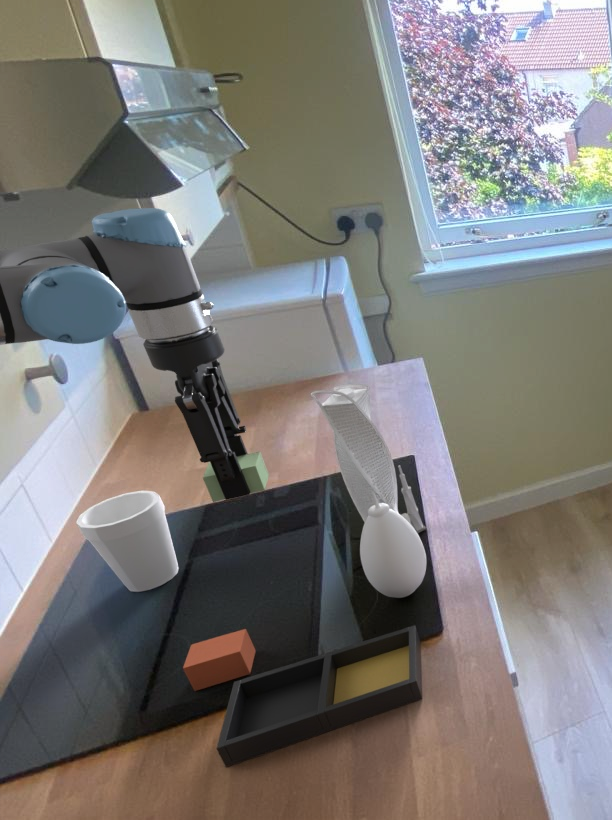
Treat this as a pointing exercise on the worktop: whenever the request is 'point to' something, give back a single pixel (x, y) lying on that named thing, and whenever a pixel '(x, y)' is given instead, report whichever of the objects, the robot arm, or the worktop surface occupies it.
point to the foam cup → (132, 538)
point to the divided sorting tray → (320, 695)
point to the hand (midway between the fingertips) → (241, 486)
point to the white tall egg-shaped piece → (391, 552)
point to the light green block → (251, 470)
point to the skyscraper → (364, 453)
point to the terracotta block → (219, 659)
